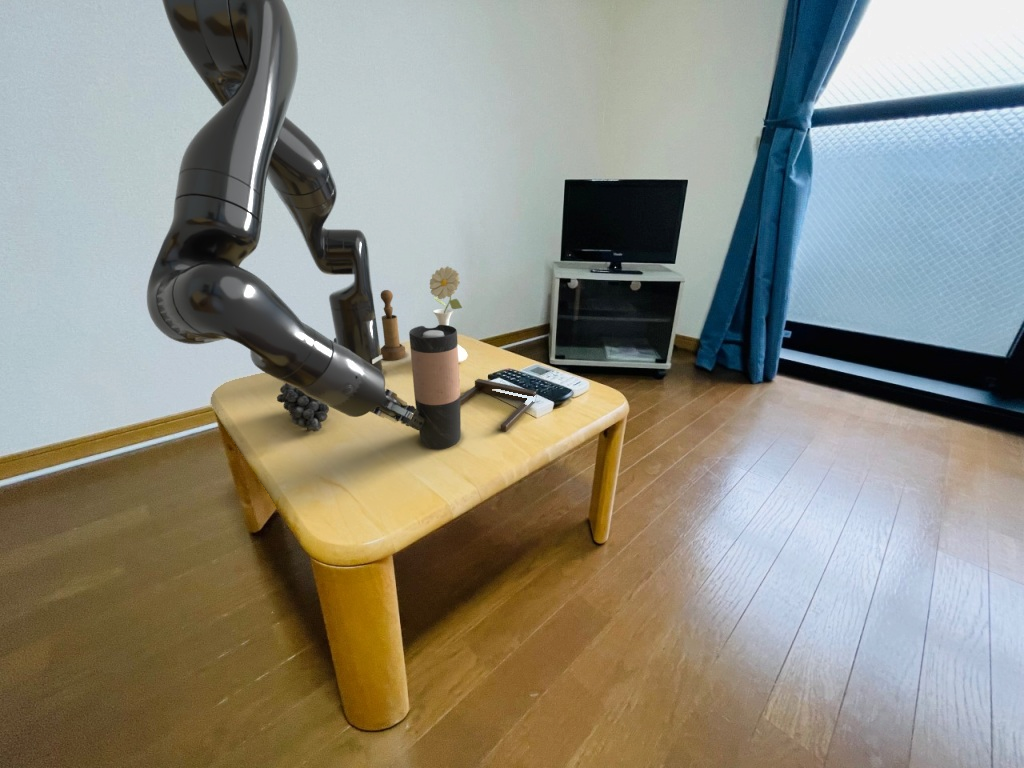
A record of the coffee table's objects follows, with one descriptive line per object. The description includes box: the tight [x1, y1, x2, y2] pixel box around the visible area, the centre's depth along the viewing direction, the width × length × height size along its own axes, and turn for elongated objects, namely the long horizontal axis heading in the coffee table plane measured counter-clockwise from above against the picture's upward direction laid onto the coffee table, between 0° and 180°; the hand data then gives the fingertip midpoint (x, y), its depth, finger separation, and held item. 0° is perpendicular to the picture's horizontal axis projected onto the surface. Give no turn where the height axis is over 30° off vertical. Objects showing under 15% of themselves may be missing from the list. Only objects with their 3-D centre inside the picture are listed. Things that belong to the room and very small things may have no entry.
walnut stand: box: [460, 378, 537, 433], centre depth 81 cm, size 14×14×2 cm
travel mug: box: [408, 324, 462, 450], centre depth 66 cm, size 8×8×20 cm
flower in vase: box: [429, 265, 468, 364], centre depth 99 cm, size 13×11×25 cm
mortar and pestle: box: [380, 289, 407, 361], centre depth 104 cm, size 7×6×18 cm
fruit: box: [276, 382, 330, 432], centre depth 73 cm, size 9×8×15 cm
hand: (419, 423), depth 65 cm, fingers closed
